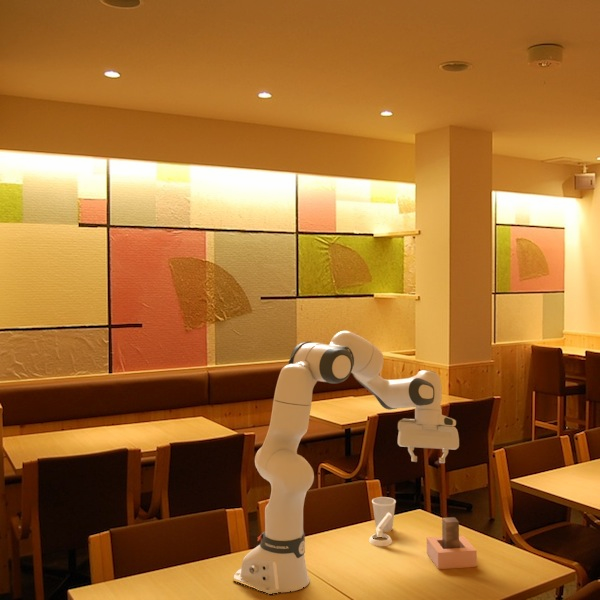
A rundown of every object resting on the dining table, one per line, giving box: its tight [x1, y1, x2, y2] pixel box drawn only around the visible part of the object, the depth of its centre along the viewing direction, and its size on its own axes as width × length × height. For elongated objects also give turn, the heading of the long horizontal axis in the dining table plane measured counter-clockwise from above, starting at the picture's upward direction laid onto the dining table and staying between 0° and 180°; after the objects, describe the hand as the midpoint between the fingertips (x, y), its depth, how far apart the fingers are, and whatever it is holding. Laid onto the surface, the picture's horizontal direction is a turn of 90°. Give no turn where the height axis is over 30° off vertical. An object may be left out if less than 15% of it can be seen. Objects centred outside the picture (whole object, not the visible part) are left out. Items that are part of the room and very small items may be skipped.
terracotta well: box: [426, 535, 478, 570], centre depth 218 cm, size 12×12×5 cm
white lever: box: [368, 513, 393, 547], centre depth 233 cm, size 8×12×7 cm
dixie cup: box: [371, 496, 397, 533], centre depth 244 cm, size 8×8×10 cm
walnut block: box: [441, 516, 460, 549], centre depth 218 cm, size 4×4×12 cm
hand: (428, 462), depth 230 cm, fingers open, 8 cm apart
